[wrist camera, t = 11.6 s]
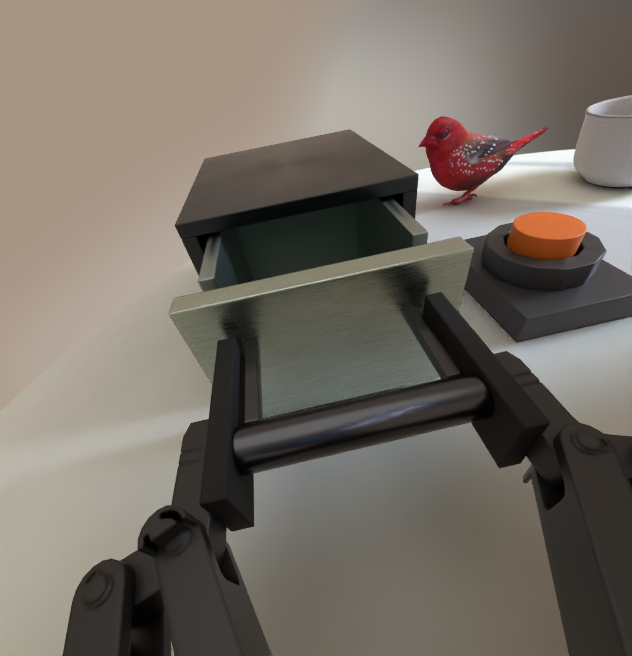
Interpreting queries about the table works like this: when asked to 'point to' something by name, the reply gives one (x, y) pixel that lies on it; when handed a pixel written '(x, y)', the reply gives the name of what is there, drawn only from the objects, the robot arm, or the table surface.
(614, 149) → the teacup
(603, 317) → the block
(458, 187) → the decorative bird figurine
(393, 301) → the drawer
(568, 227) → the button
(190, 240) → the cabinet
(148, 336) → the table surface
